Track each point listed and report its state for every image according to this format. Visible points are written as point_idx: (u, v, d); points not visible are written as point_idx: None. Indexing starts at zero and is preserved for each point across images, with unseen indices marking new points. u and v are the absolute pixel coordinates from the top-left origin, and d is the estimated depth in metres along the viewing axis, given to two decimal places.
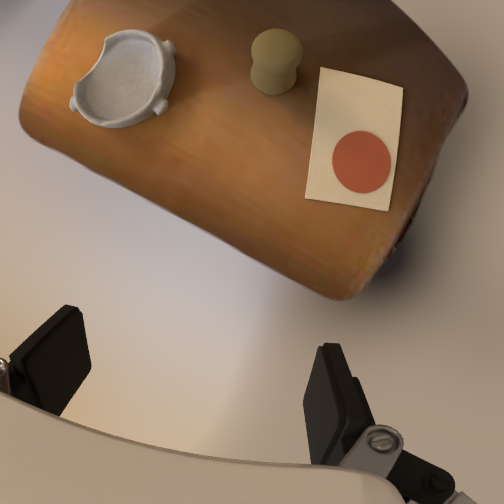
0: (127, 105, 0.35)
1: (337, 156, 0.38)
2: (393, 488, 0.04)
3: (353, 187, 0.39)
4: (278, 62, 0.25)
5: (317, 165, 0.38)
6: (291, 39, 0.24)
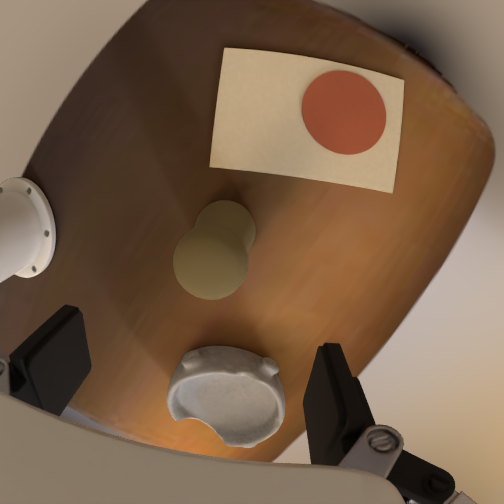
0: (259, 394, 0.34)
1: (340, 147, 0.27)
2: (393, 488, 0.04)
3: (379, 127, 0.26)
4: (234, 269, 0.20)
5: (353, 175, 0.28)
6: (192, 249, 0.19)
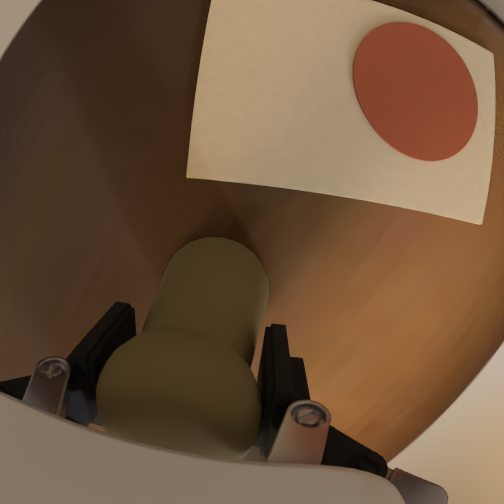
0: None
1: (417, 147, 0.14)
2: (393, 488, 0.04)
3: (470, 119, 0.13)
4: (231, 448, 0.07)
5: (432, 195, 0.15)
6: (125, 408, 0.07)
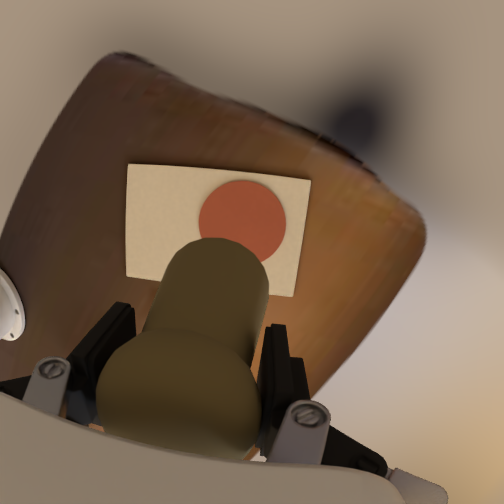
0: None
1: None
2: (393, 488, 0.04)
3: (278, 236, 0.30)
4: (231, 448, 0.07)
5: None
6: (125, 409, 0.07)
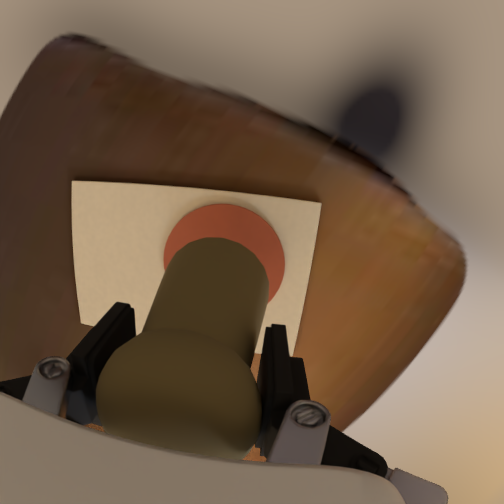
0: None
1: None
2: (393, 488, 0.04)
3: (273, 282, 0.21)
4: (231, 448, 0.07)
5: None
6: (125, 408, 0.07)
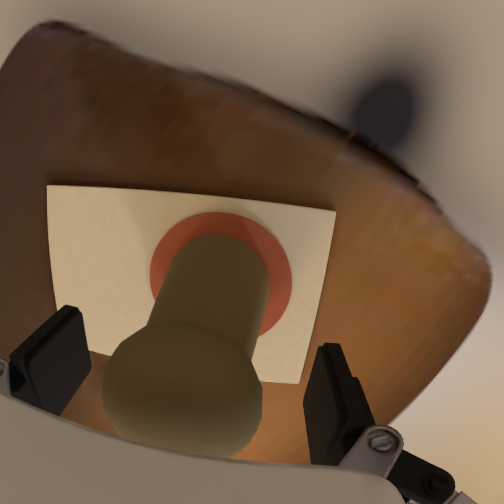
0: None
1: None
2: (393, 488, 0.04)
3: (278, 304, 0.18)
4: (233, 437, 0.07)
5: None
6: (130, 397, 0.07)
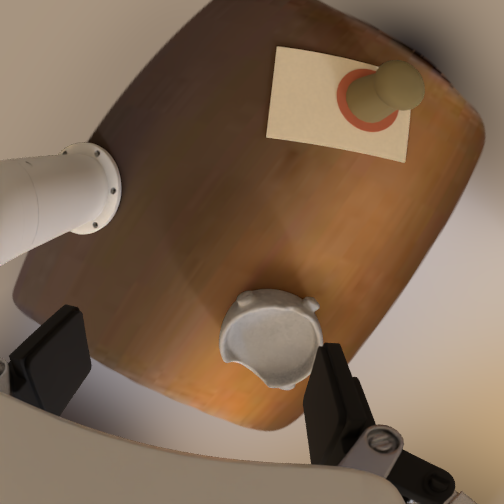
0: (300, 334, 0.40)
1: (366, 126, 0.34)
2: (393, 488, 0.04)
3: (394, 112, 0.33)
4: (422, 85, 0.22)
5: (375, 147, 0.35)
6: (397, 67, 0.22)
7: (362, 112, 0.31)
